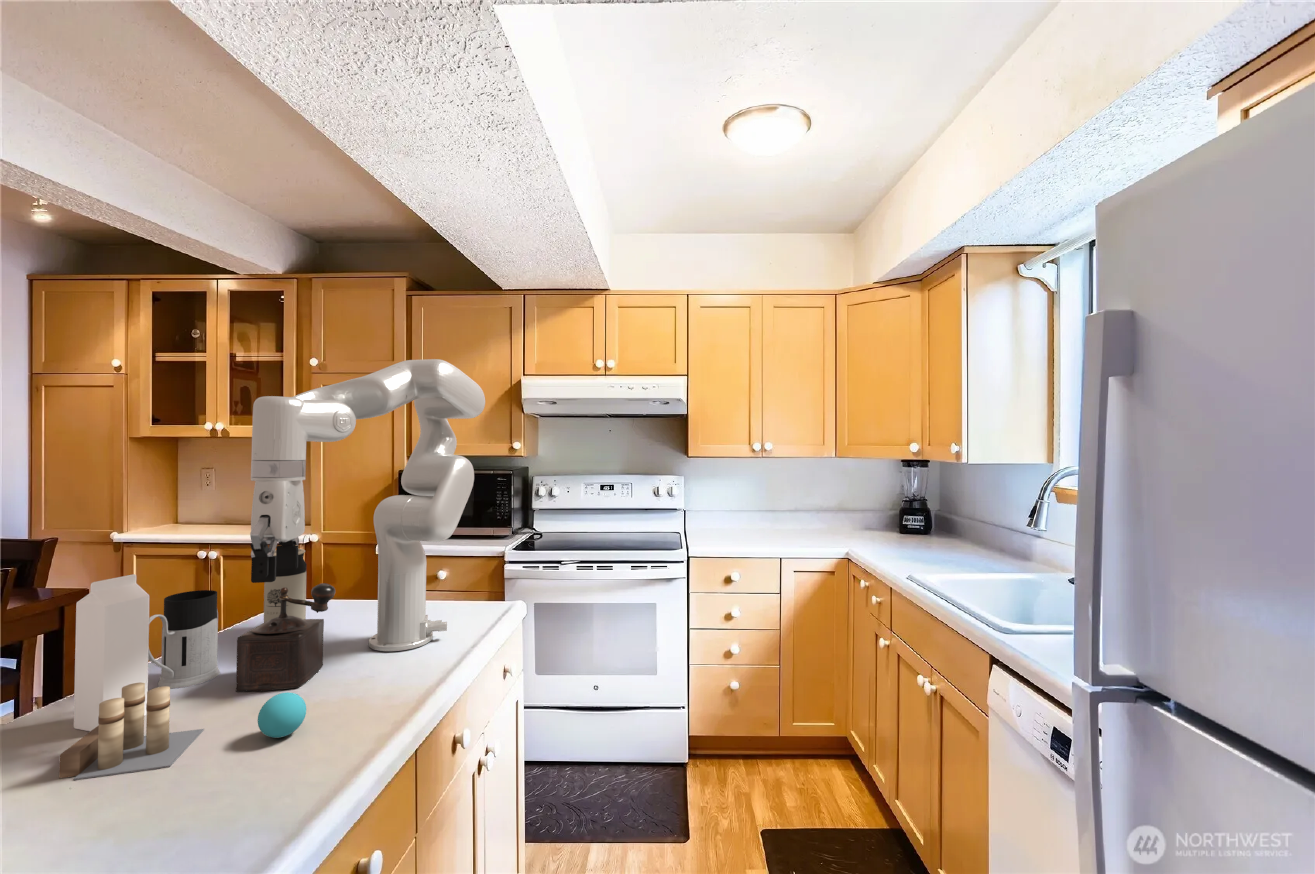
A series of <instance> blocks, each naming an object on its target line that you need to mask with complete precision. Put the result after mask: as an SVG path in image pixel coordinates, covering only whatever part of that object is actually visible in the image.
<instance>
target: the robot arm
mask: <svg viewBox="0 0 1315 874" xmlns="http://www.w3.org/2000/svg"><path fill="white" fill-rule="evenodd" d="M412 401H413V403H414V404H413V405H414V408H415V411H416V415H417V418H418V421H419V426H420V435H419V437H418V440H417V442H416V445H415V447H414V449H413V450H412V453H411V454H410V456H409V459H408V460H407V463H406V465H405V466H404V469H403V472H402V474H401V478H400V479H401V480H400V482H401V486H402V489H403V490H404V491H405V492H407V493H409V495H407V494H406V495H405V494H399V495H396V494H395V495H392V496H388V497H386V498H384V499H382V500H381V501H380V502H379V503H378V504H377V506H376V508H375V510H374V511H373V512H374V514H373V526H374V532H375V536H376V542H377V550H378V551H377V553H378V555H377V556H378V557H377V558H378V559H377V560H378V562H377V563H378V565H377V566H378V567H377V569H378V570H377V573H378V574H377V581H378V582H377V618H376V619H377V622H376V623H377V625H376V626H377V627H376V629H377V631H376V633H375V634H374V635H371V637H369V639H368V646H369V648H370V649H372V650H374V651H379V652H401V651H406V650H411V649H417V648H419V647H423V646H425V645H427V644H428V643H430V642H431V641H432V640H433V638H434V637H433V636H434V633H433V632H447V631H448V621H442V620H443V619H439V620H438V619H437V620H431V619H429V614H426V609H427V608H426V606H427V604H426V603H427V602H426V601H427V556H426V552H425V549H424V546H423V545H422V542H433V543H434V542H436V543H437V542H438V543H439V542H443V541H446V540H448V539H449V538H451V536H452V535H453V533H454V532H455V530H456V529H457V527H458V524H459V522H460V520H461V517H462V515H463V513H464V510H465V507H466V504H467V503H468V501H469V498H470V496H471V492H472V489H473V487H474V482H475V470H474V466H473V464H472V463H471V461H470V460H469V459H468V458H466V457H465V456H464V455H463V456H462V455H457V454H455V452H456V448H457V446H458V445H457V443H458V442H457V440H458V439H457V437H456V434H455V432H454V430H453V428H452V427H451V425H450V423H449V421H448V419H455V420H456V419H459V420H460V419H462V420H463V419H467V420H468V419H473V418H476V417H479V416H480V415H481V414H482V413H483V411H484V410H485V406H486V398H485V392H484V391H483V389H482V387H481V386H480V385H479V384H478V383H477V382H476V381H475V380H473V379H472V378H471V377H469V375H467V374H466V373H464V372H463V371H462V370H461V369H459V368H458V367H457V366H455V365H453V364H452V363H450V362H448V361H446V360H443V359H439V358H437V359H436V358H431V359H430V358H429V359H409V360H408V359H407V360H403V361H400V362H397V363H394V364H392V365H389V366H386V367H384V368H381V369H379V370H377V371H373V372H372V373H369V374H365V375H363V376H359V377H356V378H351V379H348V380H344V381H340V382H337V383H333V384H330V385H323V386H321V387H318V388H317V387H316V388H314V389H313V388H312V389H310V390H307V391H304V392H301V393H298V394H297V395H294V396H281V395H280V396H277V395H276V396H275V395H274V396H273V395H271V396H269V395H267V396H266V395H265V396H260V397H257V398H256V399H255V401H254V402H253V405H252V406H253V407H252V427H251V429H252V430H251V461H250V462H251V463H250V466H251V467H250V481H251V482H253V481H254V482H255V483H254V488H253V493H252V495H253V496H252V504H251V506H252V507H251V514H250V515H251V518H250V533H249V535H250V537H249V538H250V540H251V541H250V542H251V543H250V544H249V545H250V548H251V552H250V557H251V564H250V565H251V569H250V570H251V571H250V575H251V576H250V577H251V578H250V581H251V583H253V584H259V583H264V582H273V581H275V580H276V569H278V570H283V569H296V568H297V567H298V549H300V548H299V546H300V545H299V544H300V537H301V536H302V535H303V534H304V533H305V532H306V531H305V530H306V528H305V527H306V522H305V521H306V518H305V516H306V515H305V514H306V512H305V509H306V508H305V493H304V483H303V481H306V476H307V475H306V471H307V470H306V468H307V465H306V464H307V442H315V443H317V442H318V443H332V442H339V441H341V440H342V441H343V440H344V439H346V438H348V437H349V436H351V434H353V432H354V430H355V429H356V428H355V427H356V425H357V420H365V419H372V418H376V417H381V416H384V415H387V414H389V413H391V412H393V411H394V410H397V409H398V408H401V407H402V406H404V405H407V404H409V403H411V402H412ZM410 494H411V495H410ZM275 550H276V556H273V555H274V552H275Z"/></svg>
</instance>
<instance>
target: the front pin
mask: <svg viewBox="0 0 1315 874" xmlns="http://www.w3.org/2000/svg"><path fill="white" fill-rule="evenodd" d="M170 706H171V689H170V687H168V686H163V687H159V686H158V687H154V688H151V689H150V690H148V692H147V704H146V711H147V715H146V720H145V722H146V727H145V730H146V731H145V736H146V754H148V755H152V754H157V753H161V752H163V751H165V750H167V749H168V748H169V733H170V714H171V713H170V708H171V707H170Z"/></svg>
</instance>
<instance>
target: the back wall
mask: <svg viewBox="0 0 1315 874" xmlns="http://www.w3.org/2000/svg"><path fill="white" fill-rule="evenodd" d="M98 736H99V725H98V726H97V727H96V728H94V729H93V730H92V731H88V733H87V734H85V735H84V736H83V737H81V738H80V739H79V740H77V741H75V743H73V744H72V745H71V746H70V747H68V748H66V750H64V751H63V752H61V753H60V754H59V765H58V766H59V772H58V773H59V775H58V779H65V778H71V777H76V776H77V775H79V774H80V773H81V772H82V771H83V770H85V769H86V768H87V767H88V766H89V765H90V764H92V763H93V762H94V761H95V760H96V759H98Z"/></svg>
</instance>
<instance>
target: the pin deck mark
mask: <svg viewBox="0 0 1315 874" xmlns="http://www.w3.org/2000/svg"><path fill="white" fill-rule="evenodd" d="M204 731H205V728H199V729H189V730H183V731H182V730H181V731H174V732H169V748H168V749H167V750H165V751H163V752H161V753H157V754H152V755H148V754H146V735H144V743H143V744H142V745H140V746H138V747H136V748H132V749H128V750H123V762H122V763H121V764H120V765H118V766H116V767H113V768H110V769H105V770H99V769H98V759H96V760H95V761H94V762H93V763H92V764H90V765H89V766H88V767H87V768H86V769H85V770H83V771H82V772H81V773H80V774H79V775H77V776H74V778H73V781H77V780H84V779H91V778H99V777H107V776H114V775H115V776H116V775H120V774H121V775H122V774H128V773H136V772H143V771H149V770H157V769H163V768H170V767H171V766H172V765H173V764H174V763H175V762H176V760H177V759H179V758H180V756H182V754H183V753H184V752H185V751H186V750H187V749H188V748H189V746H191V745H192V744H193V743H194V742H195V740H197V738H198V737H199V736H200V735H201V734H202V733H203V732H204Z"/></svg>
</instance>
